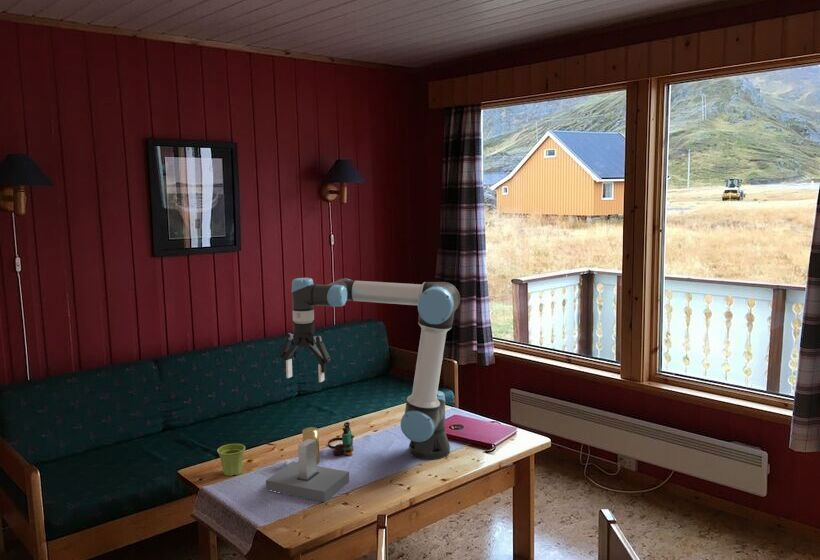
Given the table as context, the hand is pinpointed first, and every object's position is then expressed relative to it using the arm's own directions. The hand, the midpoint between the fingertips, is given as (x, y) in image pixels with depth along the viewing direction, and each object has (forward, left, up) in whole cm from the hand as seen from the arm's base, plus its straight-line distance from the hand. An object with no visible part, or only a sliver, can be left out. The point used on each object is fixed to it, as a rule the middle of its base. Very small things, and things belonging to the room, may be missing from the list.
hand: (305, 379), depth 246 cm
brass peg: (-5, +5, -29) cm, 29 cm away
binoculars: (-10, -7, -29) cm, 31 cm away
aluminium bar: (-14, +22, -29) cm, 39 cm away
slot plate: (-14, +22, -29) cm, 39 cm away
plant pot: (+16, +23, -29) cm, 40 cm away
